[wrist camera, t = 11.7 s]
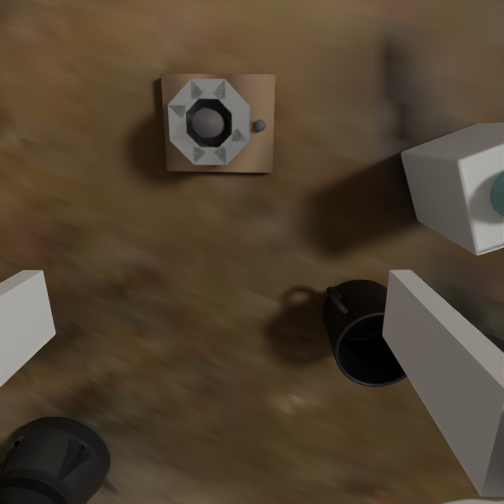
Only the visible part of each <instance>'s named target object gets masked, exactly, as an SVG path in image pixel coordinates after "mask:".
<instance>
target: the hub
mask: <svg viewBox="0 0 504 504" xmlns="http://www.w3.org/2000/svg"><path fill="white" fill-rule="evenodd" d="M207 103H222V104H223V105H224V106H225V107H226V108H227V109H228V110H229V111H230V112H231V113H232V134H231V135H230V136H229V137H228V138H227V139H226V141H225V142H224V143H223V144H222V145H221V146H214V145H208V144H207V143H206V142H205V141H204V140H203V139H202V138H201V137H200V136H199V135H198V134H197V133H196V132H195V131H194V129H193V126H192V119H193V116H194V114H195V113H196V112H197V111H198V110H200V109H202V108H203V107H204V106H205V105H206V104H207ZM168 116H169V133H170V141H171V142H172V143H173V144H174V145H175V146H176V147H177V148H178V149H179V150H180V151H181V152H182V153H183V154H184V155H185V156H186V157H187V158H188V159H189V160H190V161H191V162H192V163H193V164H194V165H227V164H228V163H230V162H231V161H232V160H233V159H234V158H235V157H236V156H237V155H238V154H239V153H240V152H241V151H242V150H243V149H244V148H245V147H246V145H247V144H248V143H249V142H250V141H251V138H252V109H251V107H250V106H249V105H248V104H247V103H246V101H245V100H244V99H243V98H242V97H241V96H240V95H239V94H238V93H237V92H236V90H235V89H234V88H233V87H232V86H231V85H230V84H229V83H228V82H227V81H226V79H190V80H189V81H188V82H187V83H186V85H185V86H184V87H183V88H182V89H181V90H180V92H179V93H178V94H177V95H176V96H175V97H174V99H173V100H172V101H171V102H170V103H169V104H168Z"/></svg>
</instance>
